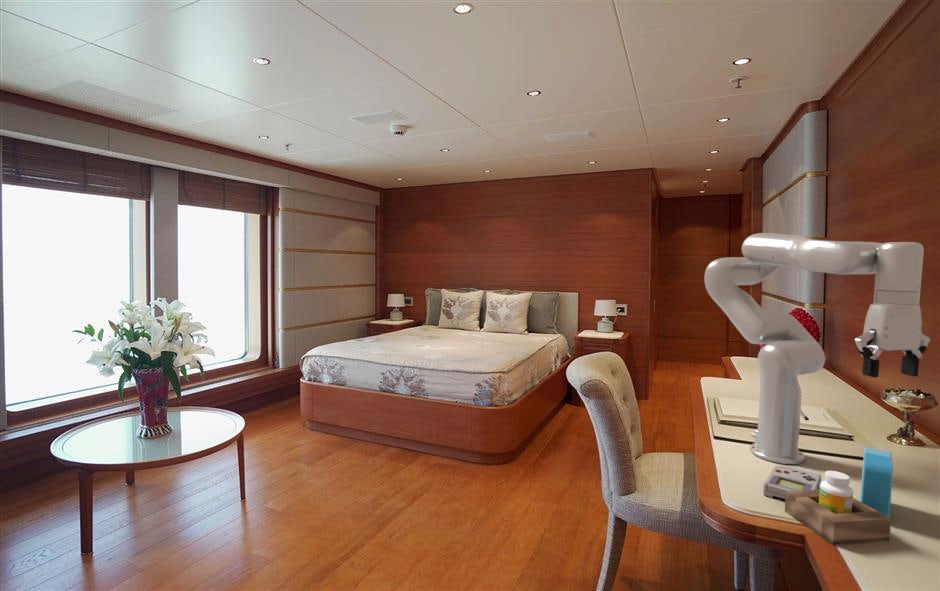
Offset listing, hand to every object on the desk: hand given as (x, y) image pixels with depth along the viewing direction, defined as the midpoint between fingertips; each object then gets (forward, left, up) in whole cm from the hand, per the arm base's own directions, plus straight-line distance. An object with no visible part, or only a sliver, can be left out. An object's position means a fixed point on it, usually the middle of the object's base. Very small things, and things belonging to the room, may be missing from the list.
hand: (889, 375), depth 107 cm
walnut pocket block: (+9, -20, -28) cm, 36 cm away
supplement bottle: (+9, -20, -28) cm, 35 cm away
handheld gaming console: (-5, -17, -29) cm, 34 cm away
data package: (+4, -6, -29) cm, 30 cm away
